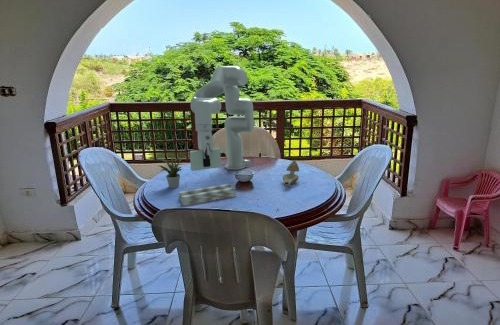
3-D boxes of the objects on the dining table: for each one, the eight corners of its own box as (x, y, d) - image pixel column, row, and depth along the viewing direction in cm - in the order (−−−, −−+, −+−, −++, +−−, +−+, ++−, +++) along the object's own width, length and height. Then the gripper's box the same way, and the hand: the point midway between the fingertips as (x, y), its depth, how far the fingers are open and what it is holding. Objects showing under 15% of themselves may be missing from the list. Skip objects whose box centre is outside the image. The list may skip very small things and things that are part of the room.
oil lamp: (301, 177, 190) (302, 160, 187) (294, 190, 170) (294, 171, 168) (286, 176, 192) (286, 159, 190) (277, 188, 173) (277, 170, 170)
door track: (229, 189, 173) (229, 183, 172) (236, 196, 164) (236, 189, 163) (178, 197, 163) (178, 191, 162) (183, 205, 155) (183, 198, 154)
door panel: (219, 165, 163) (218, 147, 161) (220, 167, 161) (220, 148, 159) (190, 169, 158) (189, 151, 156) (192, 171, 156) (190, 152, 153)
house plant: (179, 179, 189) (177, 151, 185) (194, 185, 180) (192, 155, 175) (156, 186, 180) (153, 156, 175) (170, 192, 170) (168, 161, 166)
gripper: (217, 129, 149) (218, 169, 154) (206, 124, 163) (208, 160, 168) (200, 130, 146) (203, 171, 151) (191, 125, 160) (193, 162, 165)
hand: (205, 165), depth 159 cm, fingers closed on door panel, 2 cm apart
